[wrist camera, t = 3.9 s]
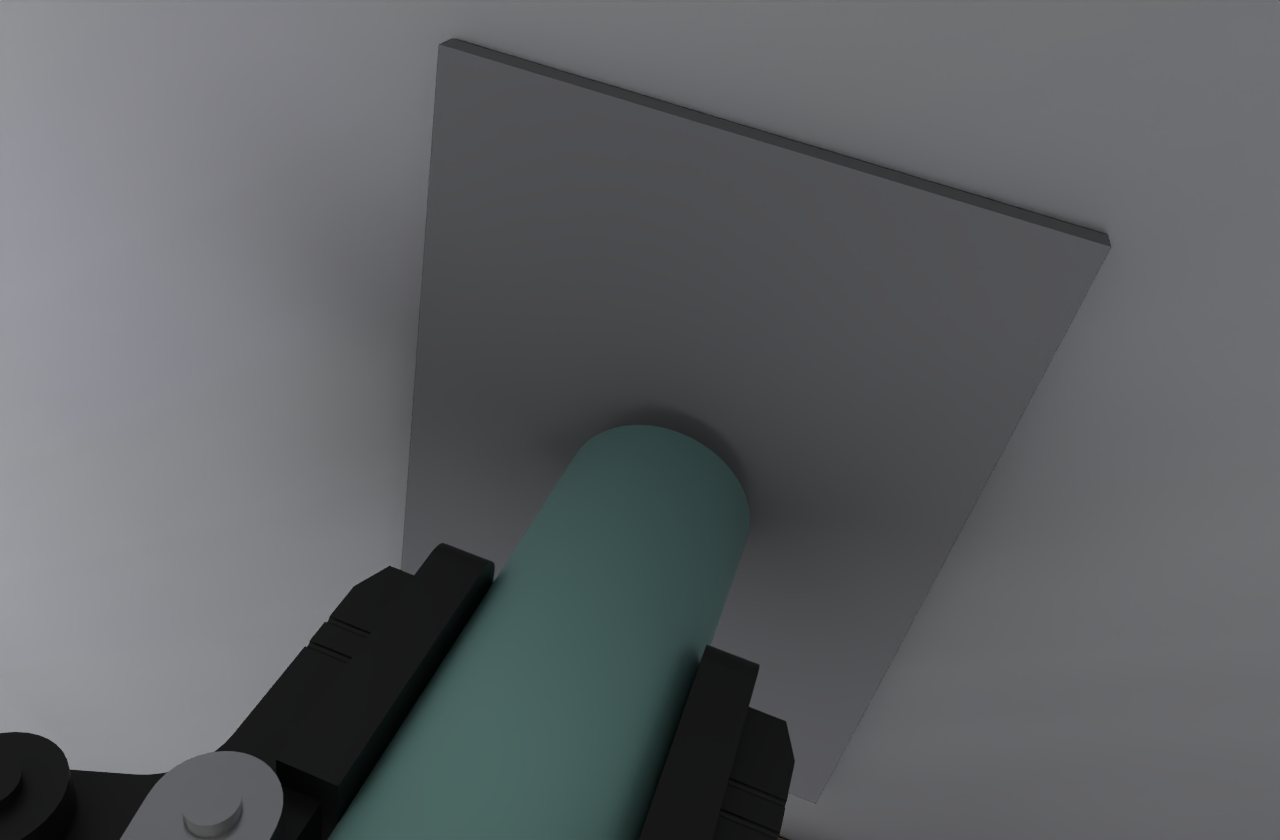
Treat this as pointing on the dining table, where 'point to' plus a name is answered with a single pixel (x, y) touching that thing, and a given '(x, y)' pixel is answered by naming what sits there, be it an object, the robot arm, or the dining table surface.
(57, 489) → the dining table surface
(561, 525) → the peg
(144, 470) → the dining table surface
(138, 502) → the dining table surface
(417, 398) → the mat
